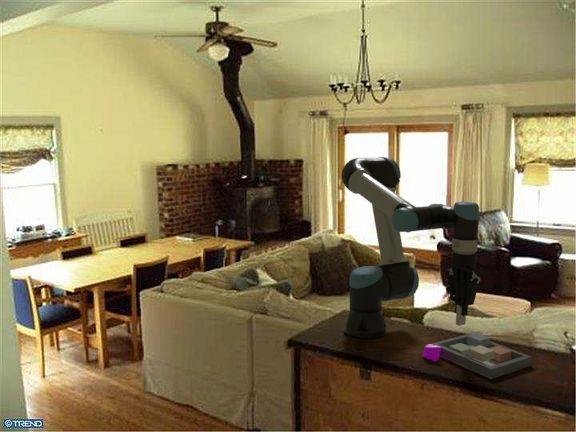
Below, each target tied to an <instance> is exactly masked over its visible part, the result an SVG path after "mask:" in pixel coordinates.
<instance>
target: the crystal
mask: <svg viewBox="0 0 576 432" xmlns="http://www.w3.org/2000/svg"><path fill="white" fill-rule="evenodd" d="M441 348H442V347H440V346H437V345H434V344H432V343H431V344H430V343H428V344H426V345H425V346H424V349H423V352H422V355H421V357H423V358H426V359H428V360H430V359H431V361H433V362H437V361H439V359H440V356H439V355H440V351H441Z"/></svg>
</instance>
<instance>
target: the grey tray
mask: <svg viewBox="0 0 576 432" xmlns="http://www.w3.org/2000/svg"><path fill="white" fill-rule="evenodd" d="M472 334H473V333H467V334H463V335H459V336H456V337H455V336H454V337H451V338H448V339H445V340H439V341H436V342H433V343H431V344H434V345H437V346H440V347H442V348H441V351H440V355H439V358H440V357H441V358H443V359H445V360H447V359H448V360H447V361H449V360H450V362H451V361H452V363H454V364H456V365H458V366H461V367H462V368H465V369H467V370H469V371H472V372H474V373H476V374H479V375H481V376H483V377H485V378H487V379H489V380H493V379H496V378H499V377H502V376H505V375H509V374H512V373H515V372H517V371H520V370H524V369H528V368H529V367H532V364H533V363H532V361H533V360H532V359H533V357H532V356H531V355H528V354H525V353H523V352H520V351H517V350H515V349H512V348H510V347H507V346H504V345H502V344H499V343H496V342H493V341H491V345H489V346H486V348H492V347H495V346H499V347H502V348H505V349H507V350H510V351H512V353H511V359H509V360H506V361H502V362H498V361H496V360H493V359H491V360H487V361H484V362H481V361H479V360H476V359H474V358H472V357H468V356H465V355H463V354H461V353H458V352H456V351H453V350H451V349H449V346H451V345H455V344H458V343H462V344H465V345H467V346H470V347H472V348H473V347H475V346H472V345H470V344H467V336H469V335H472Z"/></svg>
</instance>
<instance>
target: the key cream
mask: <svg viewBox="0 0 576 432" xmlns="http://www.w3.org/2000/svg"><path fill="white" fill-rule="evenodd" d="M469 357H472V358H474V359H476V360H479V361H481V362H484V361H487V360H491V359H494V350H492V349H489V348H486V347H484V346H481V345H480V346H476V347H473V348H469Z"/></svg>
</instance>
